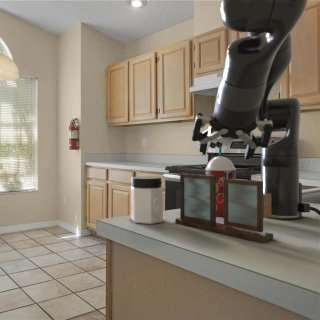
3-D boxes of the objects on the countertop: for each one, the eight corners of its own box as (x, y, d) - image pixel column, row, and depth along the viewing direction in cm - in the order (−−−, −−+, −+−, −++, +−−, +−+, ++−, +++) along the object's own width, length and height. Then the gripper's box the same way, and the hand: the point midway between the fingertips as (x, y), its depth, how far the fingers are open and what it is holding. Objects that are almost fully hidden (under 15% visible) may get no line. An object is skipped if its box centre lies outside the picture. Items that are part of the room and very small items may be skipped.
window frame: (273, 239, 71) (273, 178, 71) (262, 242, 69) (262, 179, 68) (186, 220, 90) (186, 172, 90) (175, 223, 88) (174, 173, 88)
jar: (145, 225, 86) (145, 179, 85) (124, 220, 92) (124, 177, 92) (169, 221, 91) (168, 177, 90) (147, 216, 97) (147, 175, 97)
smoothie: (242, 216, 95) (242, 146, 94) (217, 218, 93) (217, 147, 92) (223, 211, 103) (223, 146, 102) (199, 212, 101) (199, 147, 100)
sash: (271, 229, 73) (271, 180, 73) (261, 232, 71) (261, 181, 71) (233, 222, 81) (233, 177, 81) (223, 224, 79) (223, 178, 78)
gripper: (282, 84, 59) (260, 144, 72) (199, 81, 64) (192, 138, 76) (285, 113, 55) (261, 172, 67) (195, 107, 59) (188, 163, 72)
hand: (224, 154), depth 72 cm, fingers open, 8 cm apart
